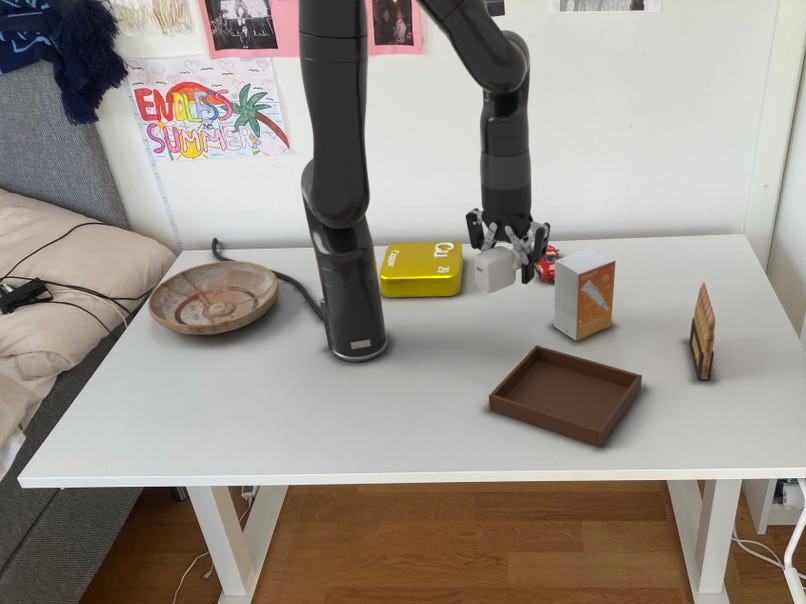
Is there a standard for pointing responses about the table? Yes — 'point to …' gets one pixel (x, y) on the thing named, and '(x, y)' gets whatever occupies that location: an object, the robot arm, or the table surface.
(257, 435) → the table surface
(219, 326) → the ceramic bowl
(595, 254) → the small box
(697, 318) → the ammunition clip
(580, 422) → the tray
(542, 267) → the race car
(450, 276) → the element tile
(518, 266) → the power adapter
